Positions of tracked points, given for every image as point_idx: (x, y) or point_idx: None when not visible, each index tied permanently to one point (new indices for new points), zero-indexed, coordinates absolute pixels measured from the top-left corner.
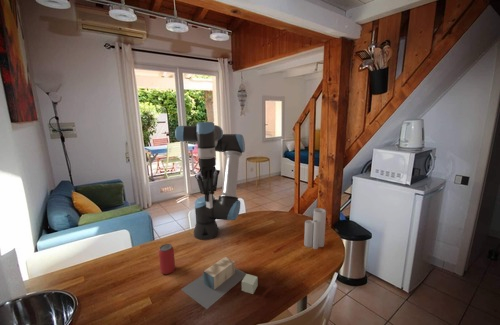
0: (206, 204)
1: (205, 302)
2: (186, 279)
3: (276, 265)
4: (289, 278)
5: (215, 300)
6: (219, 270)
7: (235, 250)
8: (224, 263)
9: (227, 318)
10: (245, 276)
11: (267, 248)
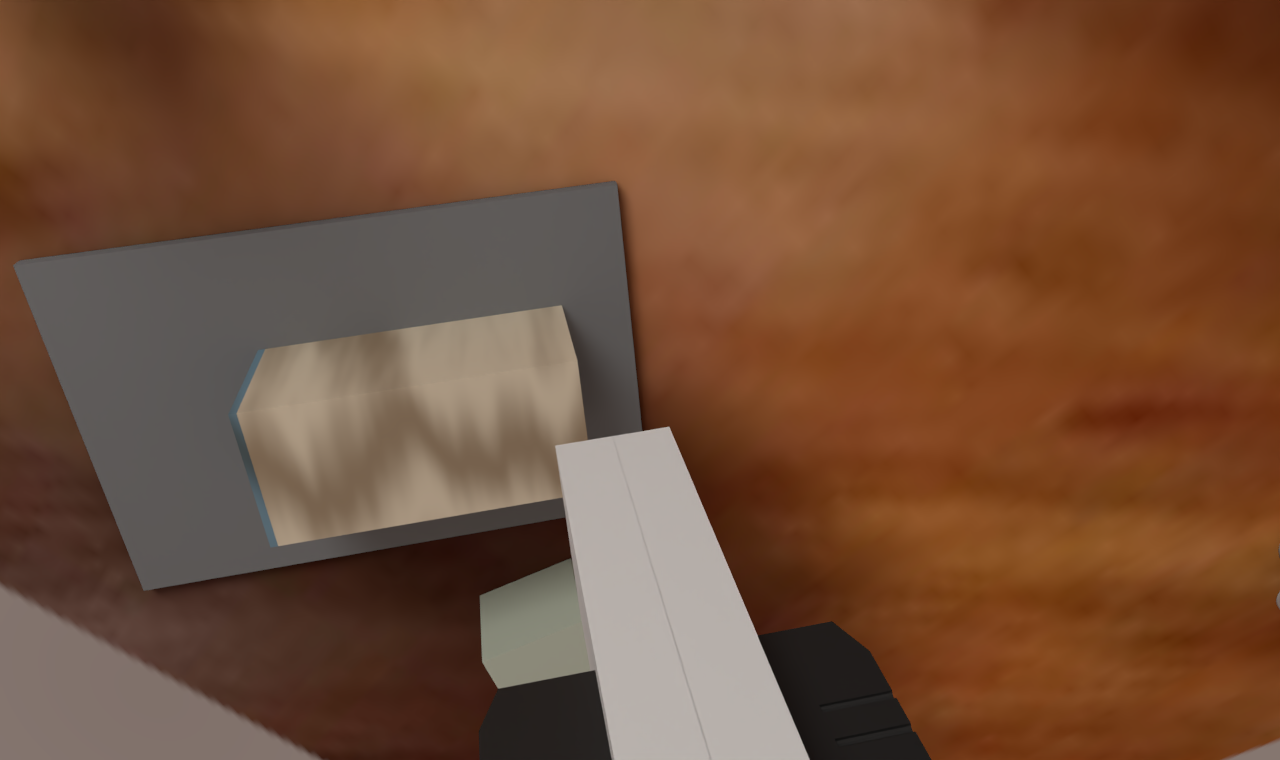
0: (570, 517)
1: (164, 534)
2: (133, 143)
3: (907, 552)
4: None
5: (246, 564)
6: (382, 506)
7: (869, 109)
8: (492, 453)
9: (245, 704)
10: (549, 639)
11: (1091, 334)
